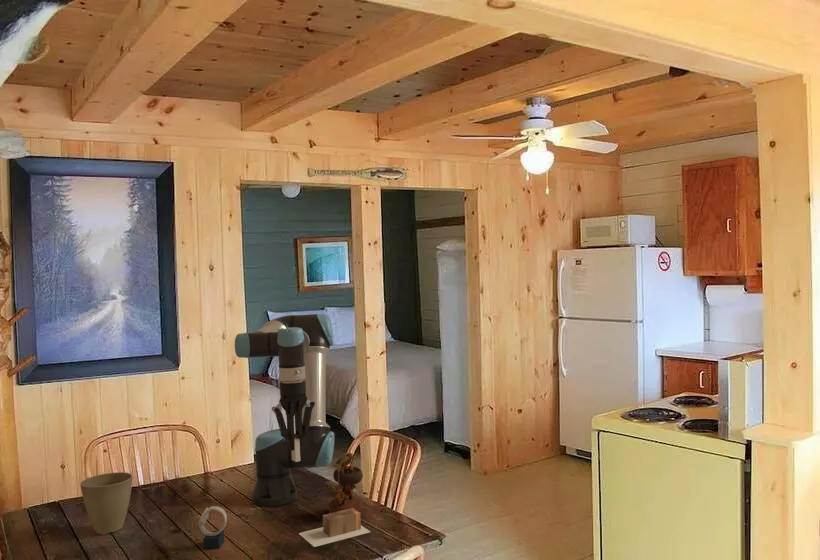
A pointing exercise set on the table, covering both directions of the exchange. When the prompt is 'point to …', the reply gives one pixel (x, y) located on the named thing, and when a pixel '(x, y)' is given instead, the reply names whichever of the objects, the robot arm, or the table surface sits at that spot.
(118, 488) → the plant pot
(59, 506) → the table surface
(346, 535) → the mat
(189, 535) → the table surface
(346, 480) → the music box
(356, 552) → the table surface
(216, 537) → the watch
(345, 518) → the walnut block
